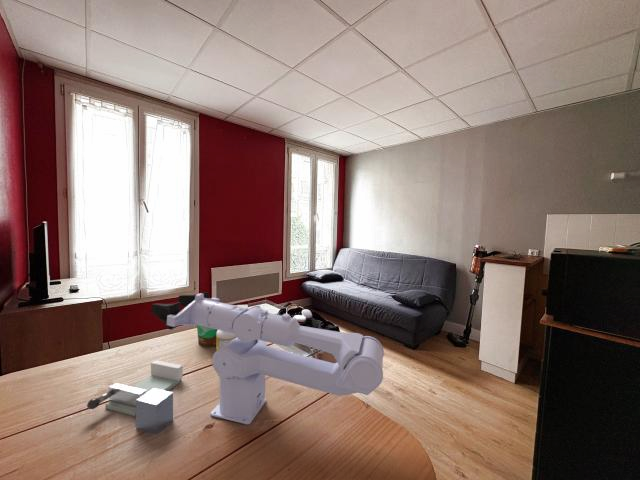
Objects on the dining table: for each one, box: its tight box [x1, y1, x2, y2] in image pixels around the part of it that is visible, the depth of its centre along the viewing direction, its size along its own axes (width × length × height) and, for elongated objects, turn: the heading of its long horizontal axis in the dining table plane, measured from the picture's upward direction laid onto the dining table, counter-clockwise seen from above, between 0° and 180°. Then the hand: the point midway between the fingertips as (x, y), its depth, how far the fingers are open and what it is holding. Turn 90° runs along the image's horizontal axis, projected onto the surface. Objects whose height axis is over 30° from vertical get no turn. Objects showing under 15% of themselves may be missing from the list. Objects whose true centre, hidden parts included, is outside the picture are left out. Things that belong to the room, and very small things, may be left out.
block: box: [135, 388, 174, 435], centre depth 52 cm, size 5×4×6 cm
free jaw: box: [86, 382, 146, 410], centre depth 55 cm, size 9×6×3 cm
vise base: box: [105, 359, 184, 417], centre depth 62 cm, size 9×13×4 cm, turn 165°
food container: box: [196, 325, 218, 348], centre depth 88 cm, size 12×6×10 cm, turn 62°
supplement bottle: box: [215, 330, 236, 352], centre depth 76 cm, size 7×7×13 cm
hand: (166, 303), depth 62 cm, fingers open, 7 cm apart
